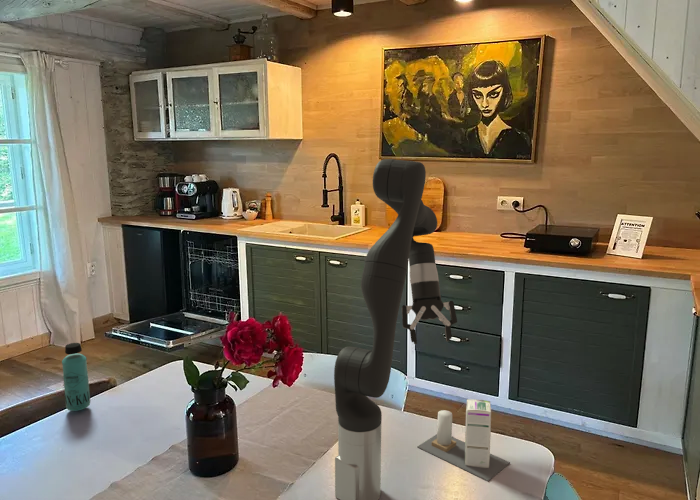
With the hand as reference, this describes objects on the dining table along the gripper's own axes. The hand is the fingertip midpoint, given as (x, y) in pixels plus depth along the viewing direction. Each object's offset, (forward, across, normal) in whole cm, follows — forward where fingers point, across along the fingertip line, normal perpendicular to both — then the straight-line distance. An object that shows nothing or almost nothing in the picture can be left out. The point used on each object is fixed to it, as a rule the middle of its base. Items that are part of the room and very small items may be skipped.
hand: (431, 342), depth 144 cm
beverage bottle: (+10, -101, +10) cm, 102 cm away
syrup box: (+29, +7, -6) cm, 30 cm away
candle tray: (+28, +4, -4) cm, 28 cm away
